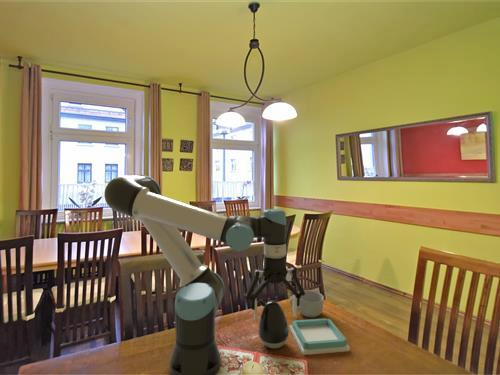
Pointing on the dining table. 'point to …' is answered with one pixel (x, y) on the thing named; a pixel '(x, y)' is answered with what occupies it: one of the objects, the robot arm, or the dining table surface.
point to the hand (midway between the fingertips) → (275, 316)
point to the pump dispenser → (273, 325)
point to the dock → (318, 336)
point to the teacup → (310, 303)
